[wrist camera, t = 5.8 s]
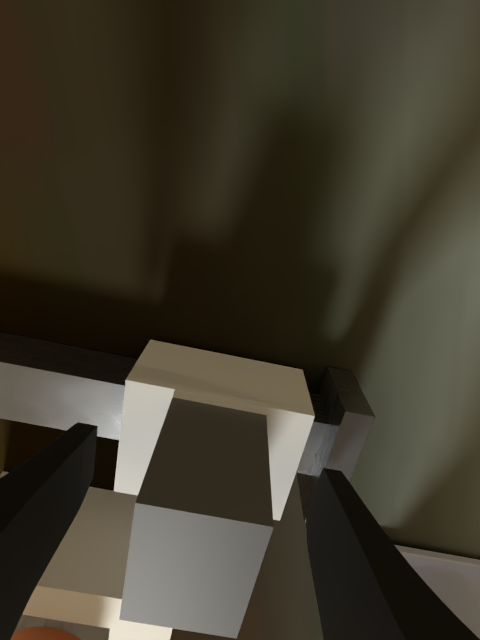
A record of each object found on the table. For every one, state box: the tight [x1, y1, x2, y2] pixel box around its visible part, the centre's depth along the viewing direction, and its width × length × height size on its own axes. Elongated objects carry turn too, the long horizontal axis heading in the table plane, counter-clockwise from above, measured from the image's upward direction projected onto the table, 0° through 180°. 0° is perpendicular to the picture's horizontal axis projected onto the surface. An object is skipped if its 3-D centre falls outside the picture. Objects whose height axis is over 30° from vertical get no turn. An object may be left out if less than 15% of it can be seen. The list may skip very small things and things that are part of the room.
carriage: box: [114, 340, 315, 638], centre depth 12 cm, size 6×5×7 cm
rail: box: [0, 332, 375, 522], centre depth 14 cm, size 18×5×3 cm, turn 79°
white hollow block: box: [0, 471, 172, 640], centre depth 17 cm, size 9×8×4 cm
